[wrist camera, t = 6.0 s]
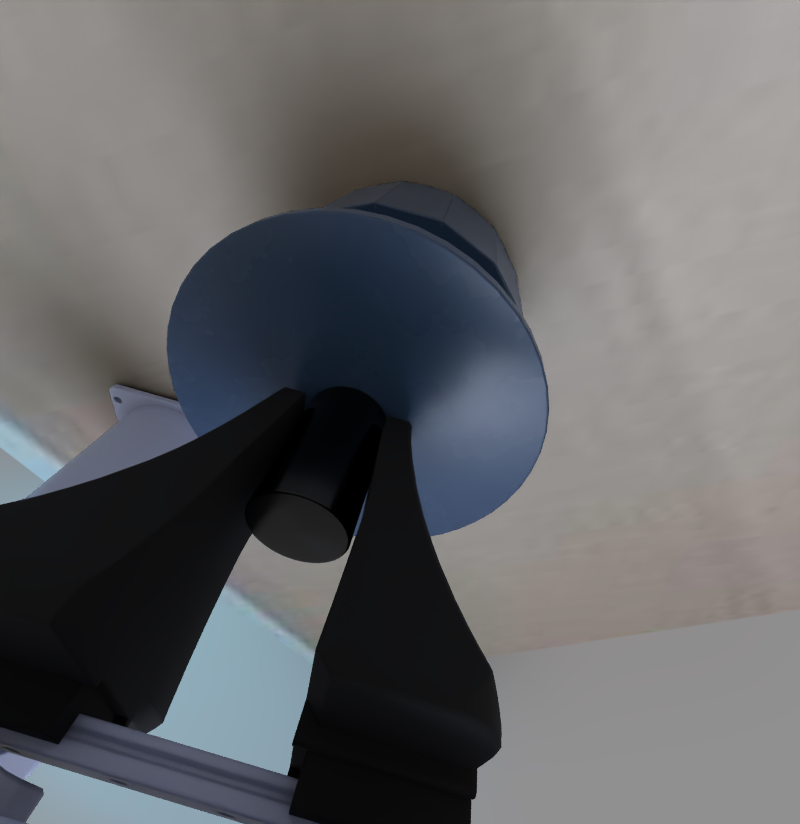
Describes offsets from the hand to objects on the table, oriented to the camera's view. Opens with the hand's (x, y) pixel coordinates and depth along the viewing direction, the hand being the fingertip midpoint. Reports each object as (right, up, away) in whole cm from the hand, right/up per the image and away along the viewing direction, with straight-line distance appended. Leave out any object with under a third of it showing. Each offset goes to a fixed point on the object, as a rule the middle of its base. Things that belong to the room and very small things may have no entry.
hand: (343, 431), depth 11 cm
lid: (0, +1, +1) cm, 1 cm away
